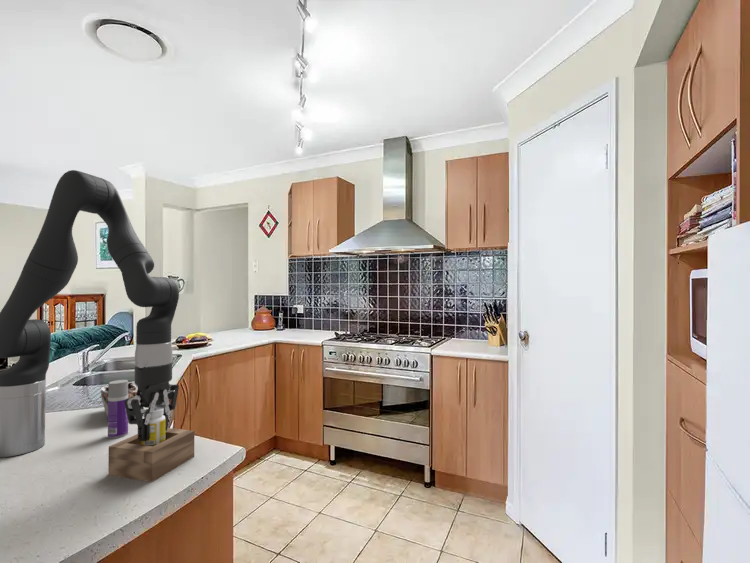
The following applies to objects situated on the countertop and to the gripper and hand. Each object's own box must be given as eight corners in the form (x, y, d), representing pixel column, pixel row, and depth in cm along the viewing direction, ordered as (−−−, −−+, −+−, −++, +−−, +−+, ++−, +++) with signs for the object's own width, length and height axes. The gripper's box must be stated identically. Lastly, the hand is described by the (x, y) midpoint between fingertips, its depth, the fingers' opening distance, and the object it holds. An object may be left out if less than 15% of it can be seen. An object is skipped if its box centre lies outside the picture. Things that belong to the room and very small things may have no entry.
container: (130, 434, 102) (130, 381, 102) (109, 440, 98) (110, 384, 99) (125, 430, 105) (126, 378, 106) (105, 435, 102) (106, 381, 102)
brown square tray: (108, 476, 79) (108, 446, 80) (154, 452, 91) (154, 426, 91) (152, 483, 76) (152, 452, 77) (194, 457, 88) (194, 430, 88)
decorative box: (87, 430, 106) (87, 396, 106) (89, 412, 122) (89, 383, 122) (140, 420, 114) (140, 389, 114) (136, 404, 130) (136, 377, 130)
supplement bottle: (160, 439, 87) (161, 404, 87) (168, 445, 84) (169, 408, 84) (138, 446, 84) (138, 409, 84) (145, 452, 81) (146, 414, 81)
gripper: (163, 356, 92) (162, 423, 92) (112, 368, 78) (112, 447, 78) (189, 356, 91) (188, 425, 90) (143, 369, 77) (142, 450, 76)
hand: (153, 435), depth 84 cm, fingers closed on supplement bottle, 4 cm apart
